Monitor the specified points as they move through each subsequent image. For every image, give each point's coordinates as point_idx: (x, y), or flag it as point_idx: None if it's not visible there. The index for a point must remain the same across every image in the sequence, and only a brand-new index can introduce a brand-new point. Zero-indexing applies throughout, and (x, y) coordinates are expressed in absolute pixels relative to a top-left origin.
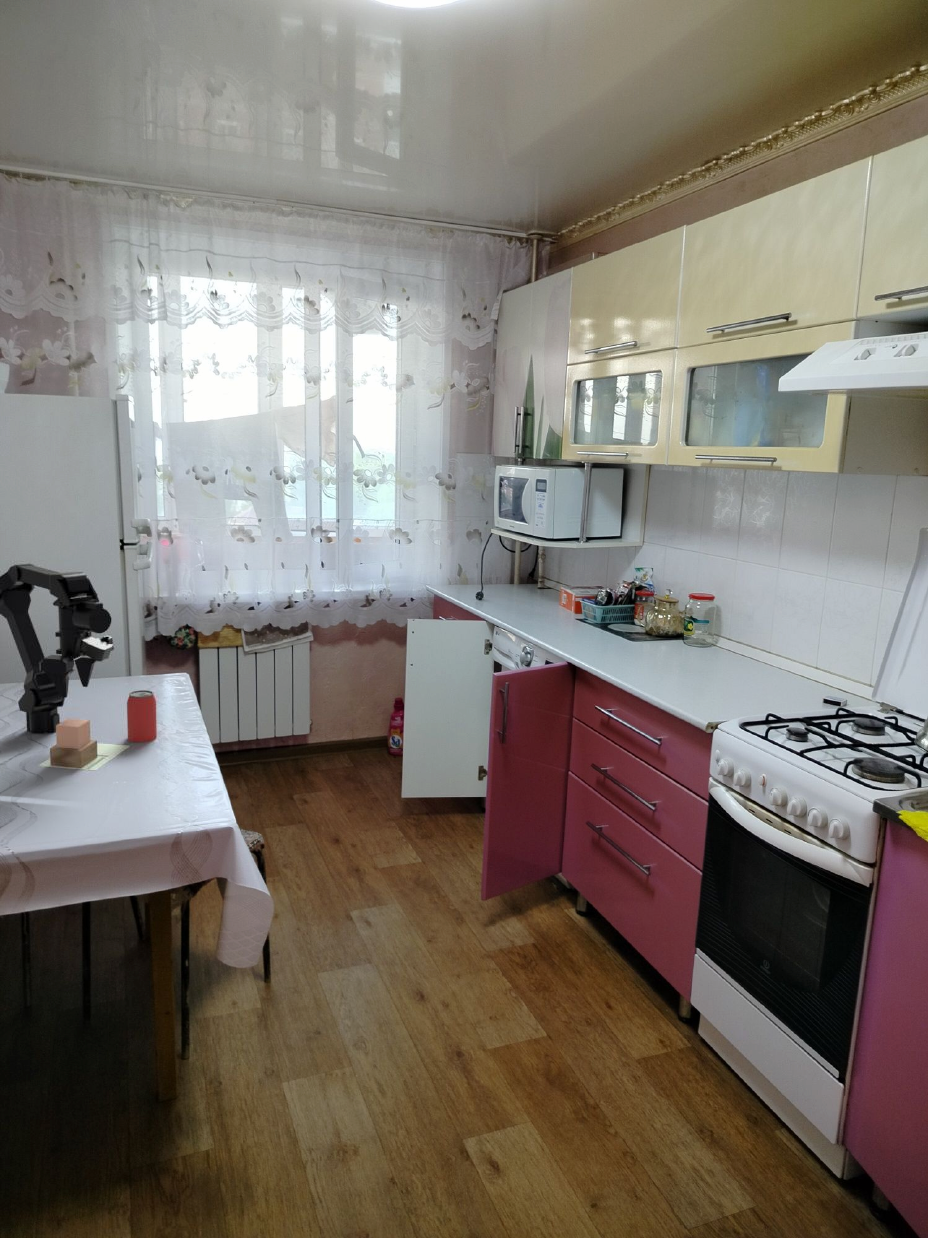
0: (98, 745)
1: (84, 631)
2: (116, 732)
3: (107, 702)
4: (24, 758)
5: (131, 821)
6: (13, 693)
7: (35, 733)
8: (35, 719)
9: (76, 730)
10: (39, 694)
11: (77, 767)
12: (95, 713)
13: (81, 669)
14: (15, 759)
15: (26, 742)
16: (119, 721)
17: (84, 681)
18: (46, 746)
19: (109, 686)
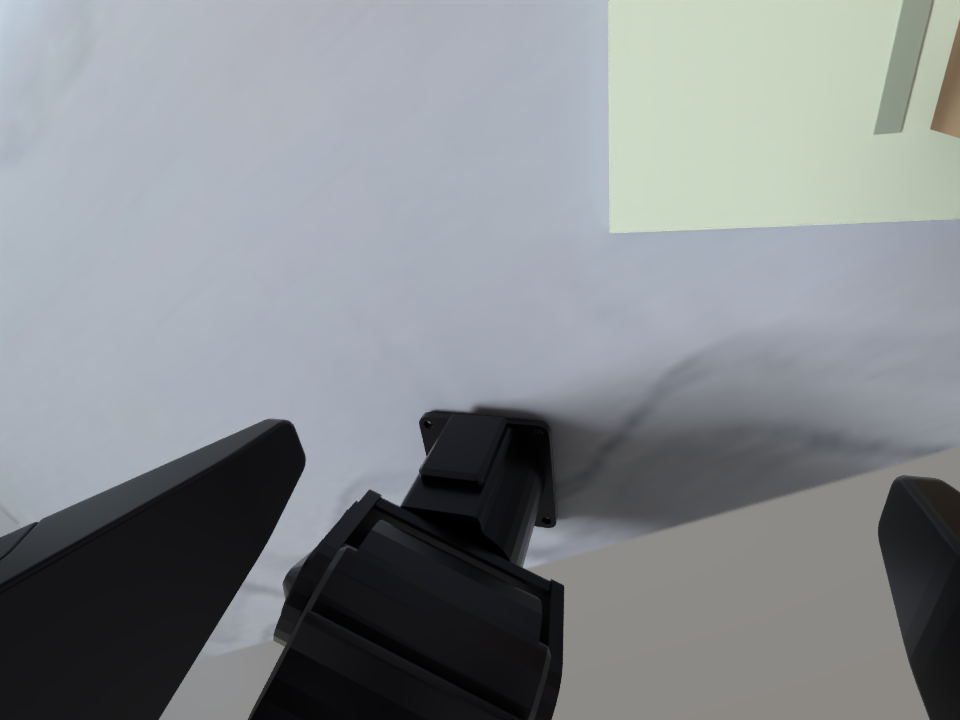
0: (658, 21)
1: None
2: (332, 123)
3: (93, 392)
4: (919, 393)
5: None
6: (229, 645)
7: (544, 484)
8: (527, 539)
9: None
10: (539, 686)
11: None
12: (198, 377)
13: (104, 702)
14: (940, 429)
15: (634, 479)
16: (201, 218)
17: (251, 495)
18: (675, 374)
19: (6, 453)
